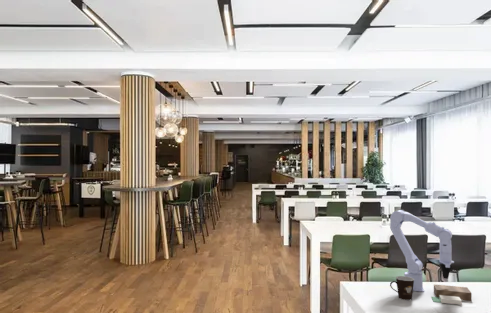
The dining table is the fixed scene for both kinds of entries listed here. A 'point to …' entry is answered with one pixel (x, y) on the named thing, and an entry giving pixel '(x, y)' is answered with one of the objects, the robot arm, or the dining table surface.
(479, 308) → the dining table surface
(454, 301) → the upright cream block
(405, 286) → the coffee mug
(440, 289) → the brown flat block
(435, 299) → the mat
